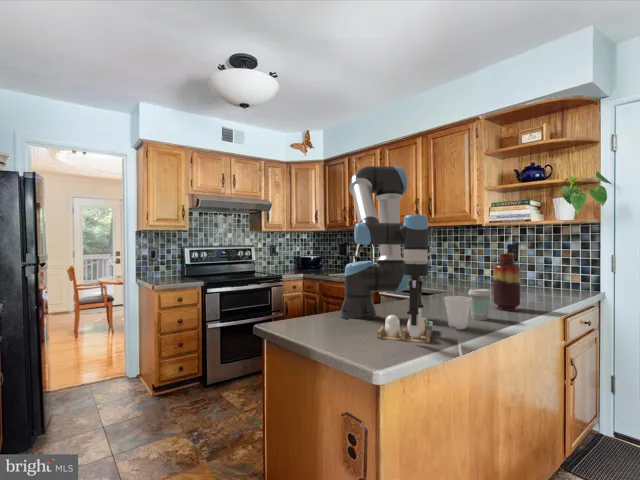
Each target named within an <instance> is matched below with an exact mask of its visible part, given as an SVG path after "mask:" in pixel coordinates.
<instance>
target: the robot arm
mask: <svg viewBox="0 0 640 480" xmlns="http://www.w3.org/2000/svg"><path fill="white" fill-rule="evenodd" d="M407 177H408V176H407V174H406V171H405V170H404V168H403V167H402V166H395V165H389V166H388V165H386V166H385V165H384V166H383V165H382V166H381V165H380V166H379V165H376V166H372V165H367V166H364V167H363V166H362V167H361V168H360V169H358V170H357V171H355V172H354V173H353V175H352V176H351V178H350V180H349V183H348V190H349V194H350V195H351V196H352V198H353V202H354V208H355V209H354V210H355V213H356V218H357V223H355V225H354V227H353V228H354V229H353V231H354V232H353V237H354V242H355V243H356V244H357V245H365V246H369V245H370V246H371V245H374V246H375V245H376V246H377V245H379V254H380V255H379V257H378V258H377V259H376V263H374V262H373V261H372V260H364V261H363V260H361V261H355V262H349V263H347V264H346V265H345V267H344V300H343V302H342V305H341V309H340V318H342V319H346V320H358V321H359V320H361V321H370V320H374V319H376V318H377V317H378V316H377V313H378V312H377V309H376V306H375V304H374V300H373V293H374V292H378V293H381V292H383V293H384V292H385V293H386V292H387V293H388V292H389V293H391V292H392V293H396V292H403V291H405V290H406V289H407V287H409V303H408V307H409V308H408V311H406V313H407V315H409V318H408V320H409V332H408V333H409V336H418V337H419V315H420V316H421V317H422V309H423V308H424V304H422V292H423V281H422V277H426V276H428V275H429V265H428V262H429V256H431V253H430V252H429V226H430V225H429V218H428V216H427V215H426V214H408V215H407V214H406V215H405V216H404V217H403V222H401V218H400V216H401V215H400V214H401V213H400V202H401V199H403V197H404V196H403V195H404V194H405V193H407V189H408V179H407ZM373 194H375V199H376V200H377V201H378V202H379V203H378V205H379V206H378V207H379V210H378V211H379V214H378V212H377V208H376V205H375V200H374V197H373ZM378 215H379V216H378ZM401 245H402V246H403V257H402V255H401V254H402V252H401ZM410 276H411V280H410Z"/></svg>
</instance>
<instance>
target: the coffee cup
mask: <svg viewBox="0 0 640 480" xmlns="http://www.w3.org/2000/svg"><path fill="white" fill-rule="evenodd" d="M467 295H468V296H469V298H471V299H472V300H471V305H470V315H471V319H473V320H476V321H477V320H478V321H487V320H488V314H489V307H490V299H491V292H490V290H489V289H487V288H486V289H485V288H469V290H468V293H467Z"/></svg>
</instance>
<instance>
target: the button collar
mask: <svg viewBox="0 0 640 480" xmlns="http://www.w3.org/2000/svg"><path fill="white" fill-rule="evenodd" d="M433 324H434V323H433V321H431V320H428V325H425V331H424V333H423V334H426V333H427V330H430V336H433V331H434V328H433V327H434V325H433Z"/></svg>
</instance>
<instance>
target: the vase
mask: <svg viewBox="0 0 640 480" xmlns="http://www.w3.org/2000/svg"><path fill="white" fill-rule="evenodd" d="M493 304H495V305H496V306H495V309H496V310H497V311H503V312H517V311H518V308H517V307H518V306H520V305H521V267H520V266H519V264H517V263H515V254H514V253H500V254H499V262H497V263H496V264H494V265H493Z"/></svg>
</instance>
